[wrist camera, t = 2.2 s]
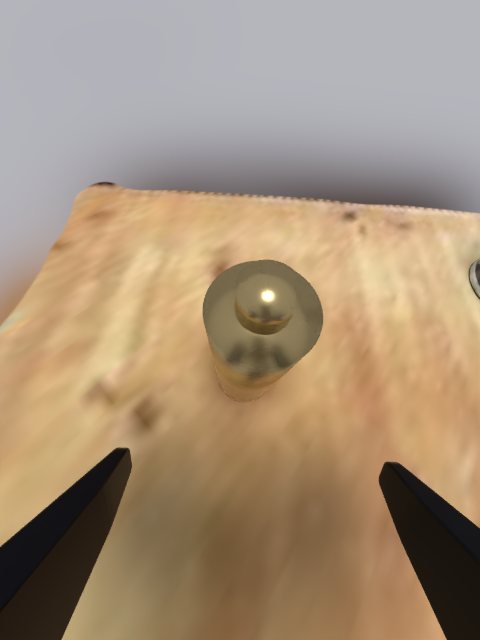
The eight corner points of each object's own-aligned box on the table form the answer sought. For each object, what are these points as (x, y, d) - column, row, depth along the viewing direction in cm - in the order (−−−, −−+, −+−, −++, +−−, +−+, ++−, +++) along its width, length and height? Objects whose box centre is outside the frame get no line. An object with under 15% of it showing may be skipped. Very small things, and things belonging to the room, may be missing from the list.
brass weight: (255, 413, 20) (307, 386, 6) (207, 383, 20) (167, 307, 7) (279, 364, 22) (358, 268, 8) (235, 339, 22) (242, 217, 9)
